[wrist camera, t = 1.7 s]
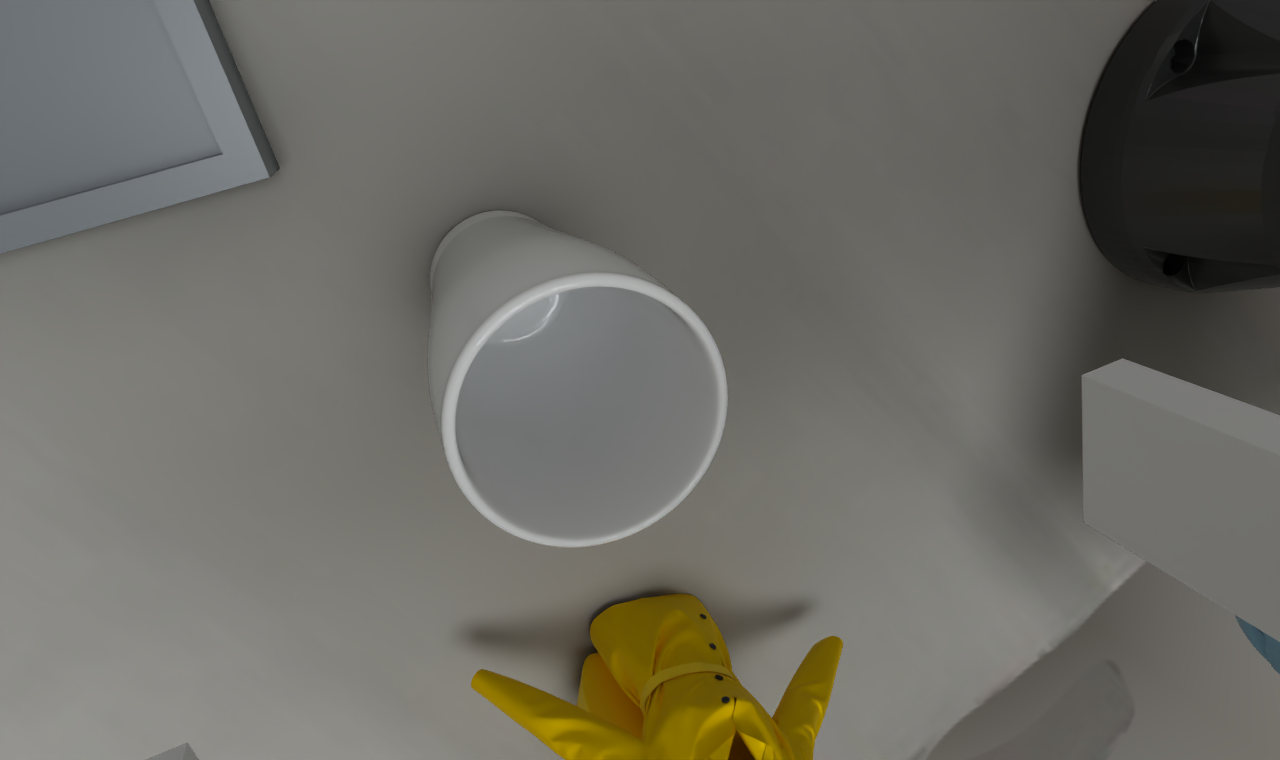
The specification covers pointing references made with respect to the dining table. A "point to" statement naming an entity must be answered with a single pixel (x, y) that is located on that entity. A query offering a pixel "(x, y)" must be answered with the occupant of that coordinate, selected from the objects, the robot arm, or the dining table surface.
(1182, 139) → the robot arm
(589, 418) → the drinking glass
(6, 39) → the tray
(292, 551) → the dining table surface
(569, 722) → the figure statuette
